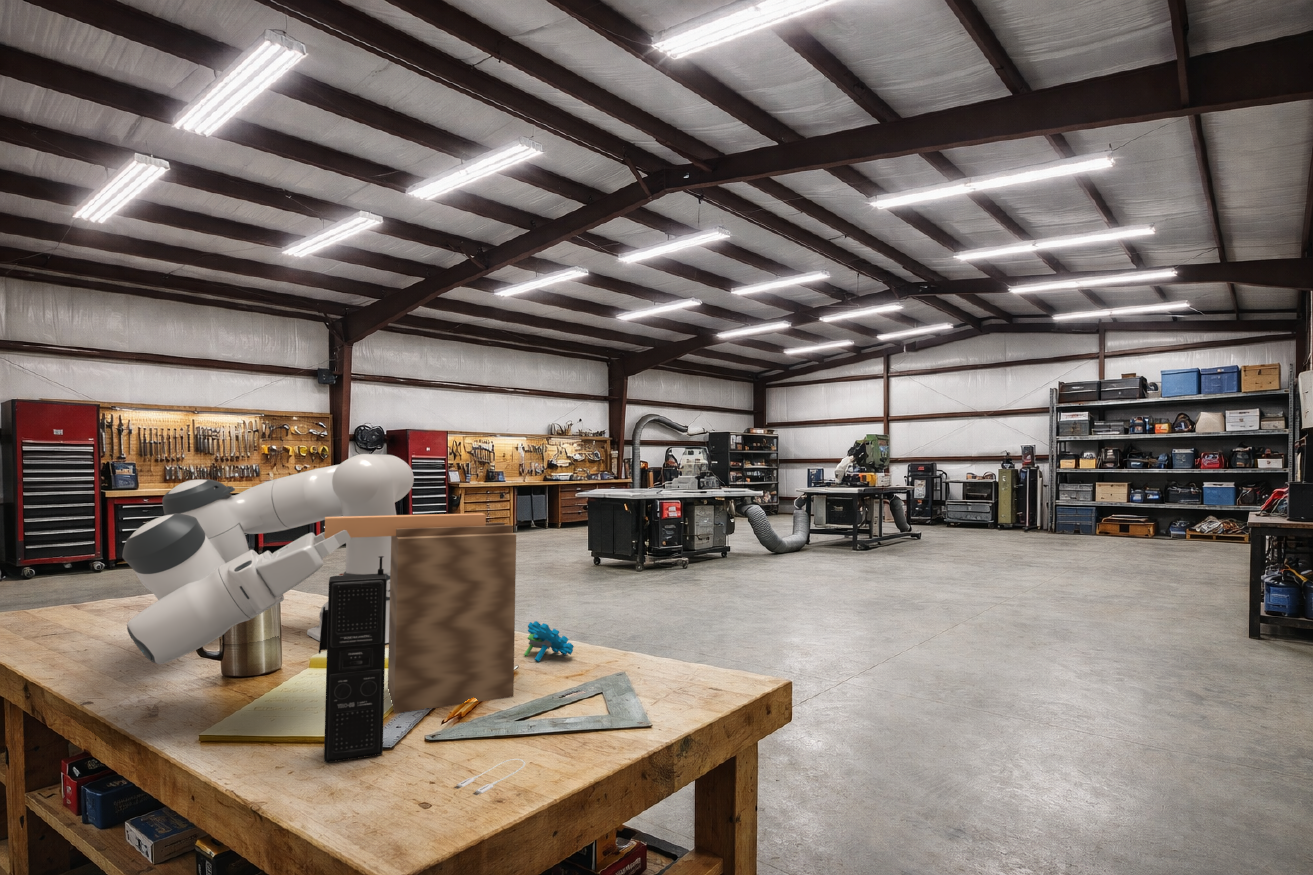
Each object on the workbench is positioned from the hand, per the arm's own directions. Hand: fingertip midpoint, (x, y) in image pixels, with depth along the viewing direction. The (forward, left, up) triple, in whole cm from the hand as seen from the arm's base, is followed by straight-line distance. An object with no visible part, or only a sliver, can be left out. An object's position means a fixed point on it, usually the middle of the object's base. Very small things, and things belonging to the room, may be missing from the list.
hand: (347, 530), depth 106 cm
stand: (+8, +14, -27) cm, 31 cm away
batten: (+4, +8, -1) cm, 9 cm away
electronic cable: (+36, -2, -27) cm, 45 cm away
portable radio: (+16, -9, -27) cm, 33 cm away
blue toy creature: (+7, +38, -27) cm, 47 cm away
